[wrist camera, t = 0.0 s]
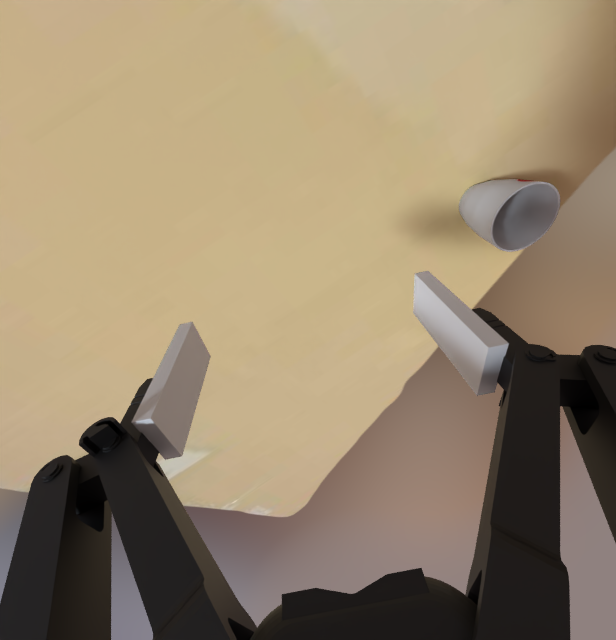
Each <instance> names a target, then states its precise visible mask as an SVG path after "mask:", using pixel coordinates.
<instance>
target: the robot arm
mask: <svg viewBox="0 0 616 640" xmlns="http://www.w3.org/2000/svg"><path fill="white" fill-rule="evenodd" d="M413 313H414V315H415V316H416V317H417V318H418V320H419V321H420V322H421V324H422V325H423V326H424V328H425V329H426V330H427V331H428V333H429V334H430V335H431V337H432V338H433V339H434V341H435V342H436V343H437V344H438V346H439V347H440V348H441V350H442V351H443V352H444V353H445V355H446V356H447V357H448V359H449V360H450V361H451V362H452V364H453V365H454V367H455V368H456V369H457V370H458V372H459V373H460V374H461V376H462V377H463V378H464V380H465V381H466V382H467V383H468V385H469V386H470V387H471V389H472V390H473V391H474V392H475V394H476V395H477V396H478V395H483V394H488V393H493V392H495V389H496V385H497V382H498V383H499V384H500V386H501V387H502V388H503V389H504V391H503V394H502V397H501V400H500V403H499V406H500V411H499V417H498V422H497V428H496V434H495V439H494V445H493V451H492V457H491V462H490V469H489V474H488V480H487V485H486V491H485V497H484V502H483V508H482V514H481V520H480V525H479V532H478V537H477V543H476V549H475V554H474V559H473V563H472V567H471V570H470V575H469V579H468V585H467V590H466V595H464V594H463V593H462V592H460V591H459V590H457V589H456V588H454V587H452V586H451V585H449V584H447V583H444V582H442V581H440V580H437V579H433V578H430V577H425V576H424V574H423V572H422V568H418V569H413V570H407V571H403V572H397V573H392V574H387V575H385V576H383V577H382V578H380V579H379V580H377V581H375V582H373V583H372V584H370V585H368V586H367V587H365V588H364V589H362V590H360V591H358V592H357V593H355V594H347V593H341V592H336V591H329V590H324V589H319V588H313V589H308V590H303V591H297V592H292V593H287V594H282V605H280V606H278V607H277V608H276V609H274V610H273V611H272V612H271V613H270V614H269V615H268V616H267V617H266V618H265V619H264V620H263V621H262V622H261V624H260V625H259V626H258V628H257V627H256V625H255V624H254V622H253V620H252V619H251V617H250V616H249V615H248V613H247V612H246V611H245V610H244V608H243V607H242V606H241V604H240V603H239V601H238V600H237V598H236V597H235V595H234V593H233V591H232V590H231V588H230V586H229V585H228V583H227V581H226V580H225V578H224V576H223V574H222V572H221V571H220V569H219V567H218V565H217V564H216V562H215V560H214V559H213V557H212V555H211V553H210V552H209V550H208V548H207V547H206V545H205V543H204V541H203V540H202V538H201V536H200V535H199V533H198V531H197V529H196V528H195V526H194V524H193V522H192V521H191V519H190V517H189V515H188V514H187V512H186V510H185V508H184V507H183V505H182V503H181V502H180V500H179V498H178V496H177V495H176V493H175V491H174V489H173V488H172V486H171V484H170V483H169V481H168V479H167V477H166V476H165V474H164V472H163V470H162V469H161V467H160V465H159V464H158V463H157V462H156V459H157V456H158V453H160V454H161V455H162V456H163V458H164V459H165V460H166V459H170V458H175V457H180V456H182V455H183V451H184V448H185V444H186V441H187V437H188V434H189V430H190V427H191V423H192V420H193V416H194V413H195V409H196V406H197V402H198V399H199V395H200V392H201V388H202V385H203V381H204V378H205V374H206V371H207V367H208V364H209V360H210V357H211V356H210V354H209V352H208V350H207V348H206V347H205V345H204V343H203V341H202V339H201V337H200V335H199V333H198V331H197V329H196V328H195V326H194V324H193V322H189V323H184V324H180V325H179V327H178V329H177V331H176V333H175V335H174V337H173V339H172V341H171V343H170V345H169V347H168V349H167V351H166V353H165V355H164V357H163V359H162V361H161V363H160V365H159V367H158V369H157V371H156V374H155V376H154V378H150V379H147V380H146V381H145V382H144V383H143V384H142V385H141V386H140V387H139V389H138V391H137V393H136V395H135V398H134V399H133V400H132V402H131V406H129V408H128V410H127V412H126V414H125V415H124V417H123V419H122V421H121V423H119V422H118V421H117V420H116V419H114V418H113V417H107V418H104V419H101V420H99V421H97V422H95V423H94V424H93V425H91V426H90V427H89V428H88V429H87V430H86V431H85V432H84V433H83V434H82V436H81V438H80V440H79V445H80V446H81V447H82V448H83V449H84V450H85V451H87V452H88V453H89V454H88V455H86V456H84V457H81V458H79V459H77V460H74V459H73V458H71V457H70V456H68V455H64V456H60V457H58V458H55V459H53V460H52V461H50V462H49V463H47V464H46V465H45V466H44V467H43V468H42V469H41V470H40V471H39V472H38V473H37V474H36V476H35V477H34V479H33V481H32V484H31V487H30V491H29V495H28V499H27V503H26V507H25V511H24V515H23V518H22V522H21V526H20V530H19V534H18V538H17V541H16V545H15V549H14V553H13V557H12V561H11V564H10V568H9V572H8V576H7V580H6V583H5V588H4V591H3V595H2V599H1V603H0V640H111V517H112V516H111V515H112V514H113V516H114V519H115V522H116V525H117V528H118V531H119V534H120V536H121V540H122V543H123V546H124V549H125V551H126V554H127V557H128V560H129V563H130V566H131V569H132V572H133V575H134V578H135V581H136V583H137V586H138V589H139V592H140V595H141V598H142V601H143V604H144V607H145V610H146V613H147V616H148V618H149V621H150V624H151V627H152V631H153V640H570V604H569V603H570V600H569V577H568V572H567V568H566V566H565V565H564V564H563V562H562V561H561V557H560V406H563V409H564V412H565V414H566V416H567V419H568V422H569V424H570V427H571V429H572V432H573V435H574V437H575V440H576V442H577V445H578V447H579V450H580V453H581V455H582V457H583V460H584V463H585V465H586V468H587V470H588V473H589V476H590V478H591V481H592V483H593V486H594V489H595V491H596V494H597V496H598V499H599V501H600V504H601V507H602V509H603V512H604V514H605V517H606V519H607V521H608V524H609V527H610V530H611V532H612V534H613V537H614V540H615V542H616V349H615V348H612V347H609V346H603V345H591V346H588V347H585V349H584V350H583V351H582V353H581V355H558V354H556V353H555V352H554V351H552V350H550V349H549V348H547V347H544V346H540V345H534V344H528V343H527V342H526V341H524V340H523V339H522V338H521V337H520V336H518V335H517V334H516V333H515V332H513V331H512V330H511V329H510V328H509V327H508V326H505V324H504V323H503V322H502V321H499V319H498V318H497V317H496V316H494V315H493V314H492V313H491V312H488V311H486V310H484V309H481V308H477V309H472V310H471V309H470V308H469V307H468V306H467V305H466V304H464V303H463V302H462V301H461V300H460V299H459V298H458V297H457V296H456V295H454V294H453V293H452V292H451V291H450V290H449V289H448V288H447V287H446V286H444V285H443V284H442V283H441V282H440V281H439V280H438V279H437V278H436V277H434V276H433V275H432V274H431V273H430V272H429V271H424V272H420V273H415V280H414V309H413Z"/></svg>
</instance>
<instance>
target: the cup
mask: <svg viewBox="0 0 616 640" xmlns="http://www.w3.org/2000/svg"><path fill="white" fill-rule="evenodd" d="M559 208H560V195H559V192H558V190H557V189H556V187H555V186H553V185H552V184H550V183H547V182H540V181H530V180H521V179H503V180H490V181H486V182H482V183H479V184H475V185H473V186H472V187H470V188H469V189H468V190H467V191H466V192H465V193H464V194H463V196H462V198H461V200H460V203H459V212H460V214H461V216H462V217H463V219H464V221H465V222H466V224H467V225H468V226H469V227H470V228H471V229H472V230H473V231H474V232H476V233H477V234H478V235H479V236H480V237H482V238H483V239H485V240H486V241H488V242H489V243H491V244H492V245H494V246H495V247H497V248H498V249H500V250H503V251H508V252H511V251H518V250H521V249H524V248H526V247H528V246H530V245H532V244H533V243H534V242H536V241H537V240H539V239H540V238H541V237H542V236H543V235H544V234H545V233H546V232H547V231H548V230H549V228H550V227H551V226H552V224H553V222H554V221H555V219H556V216H557V214H558V211H559Z"/></svg>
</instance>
